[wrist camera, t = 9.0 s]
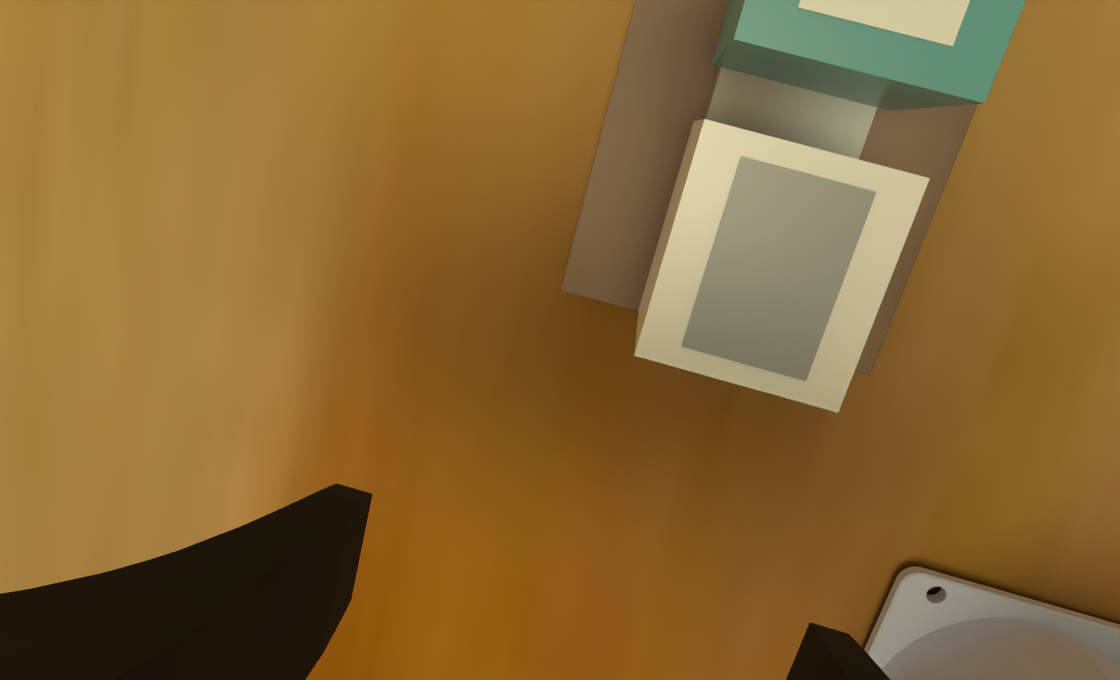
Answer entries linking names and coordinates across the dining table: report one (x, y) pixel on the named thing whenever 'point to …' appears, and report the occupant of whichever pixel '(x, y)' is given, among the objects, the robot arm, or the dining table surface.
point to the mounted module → (773, 263)
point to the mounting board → (740, 101)
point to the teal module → (872, 47)
